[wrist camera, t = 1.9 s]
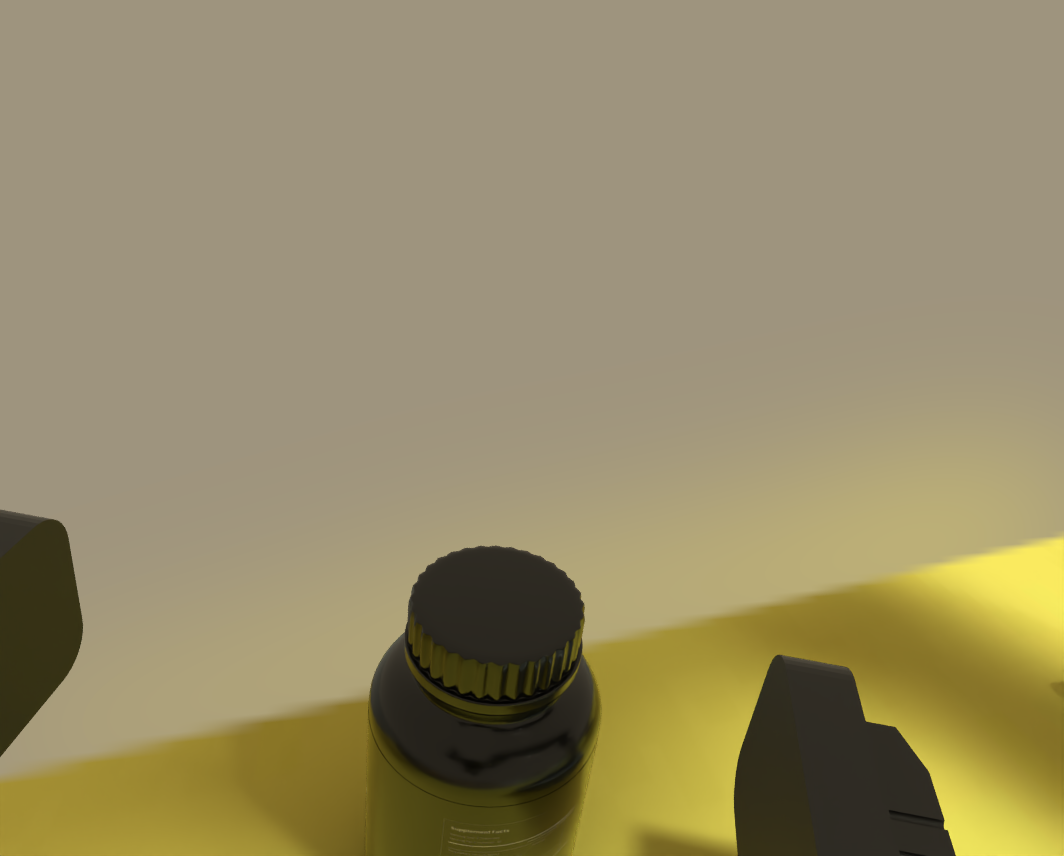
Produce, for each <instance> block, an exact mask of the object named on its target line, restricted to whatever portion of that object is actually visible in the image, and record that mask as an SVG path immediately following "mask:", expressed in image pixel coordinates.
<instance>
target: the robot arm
mask: <svg viewBox="0 0 1064 856" xmlns="http://www.w3.org/2000/svg"><path fill="white" fill-rule="evenodd" d="M82 633H83V623H82V615H81V609H80V603H79V597H78V591H77V586H76V580H75V574H74V568H73V563H72V556H71V551H70V544H69V539H68V535H67V531H66V529H65V527H64V526H63V525H62V523H60V522H59V521H57V520H54V519H48V518H43V517H37V516H32V515H26V514H20V513H16V512H10V511H5V510H0V757H1V755H2V754H3V753H4V752H5V751H6V749H7V748H8V747H9V746H10V744H11V743H12V742H13V741H14V739H15V738H16V737H17V736H18V735H19V733H20V732H21V731H22V730H23V729H24V727H25V726H26V725H27V724H28V723H29V721H30V720H31V719H32V718H33V716H34V715H35V714H36V713H37V712H38V710H39V709H40V708H41V706H42V705H43V704H44V703H45V702H46V701H47V699H48V698H49V697H50V696H51V694H52V693H53V692H54V691H55V690H56V688H57V687H58V686H59V685H60V684H61V682H62V681H63V680H64V678H65V677H66V676H67V674H68V673H69V671H70V670H71V668H72V666H73V664H74V662H75V659H76V657H77V655H78V652H79V648H80V644H81V640H82ZM734 814H735V826H736V839H737V851H738V856H956V855H955V852H954V849H953V845H952V842H951V839H950V836H949V833H948V830H944V817H943V814H942V811H941V808H940V805H939V802H938V799H937V796H936V792H935V789H934V786H933V783H932V780H931V777H930V774H929V771H928V770H927V769H926V767H925V766H924V765H923V763H922V762H921V761H920V759H919V758H918V757H917V755H916V754H915V753H914V751H913V750H912V749H911V747H910V746H909V745H908V743H907V742H906V741H905V739H904V738H903V737H902V735H901V734H900V733H899V731H898V730H897V729H896V727H892V726H886V725H881V724H876V723H870V722H866V721H865V717H864V714H863V710H862V706H861V702H860V698H859V694H858V690H857V687H856V683H855V679H854V676H853V674H852V672H851V671H850V670H849V668H847V667H843V666H837V665H832V664H826V663H821V662H815V661H810V660H805V659H799V658H794V657H788V656H783V655H777V656H775V657H774V659H773V660H772V662H771V664H770V667H769V669H768V672H767V675H766V678H765V681H764V684H763V687H762V689H761V692H760V695H759V698H758V701H757V704H756V707H755V710H754V713H753V716H752V718H751V721H750V724H749V727H748V730H747V733H746V736H745V739H744V742H743V745H742V748H741V751H740V755H739V759H738V764H737V770H736V777H735V788H734Z"/></svg>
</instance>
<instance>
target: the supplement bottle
mask: <svg viewBox="0 0 1064 856" xmlns="http://www.w3.org/2000/svg"><path fill="white" fill-rule="evenodd" d="M584 608H585V607H584V603H583V601H582V600H581V593H580V591H579V590H578V589H577V588H575V583H574V581H572V580H571V579H569V578H568V577H567V575H566V573H565V572H564V571H562V570H560V569H558V568H557V567H556V565H555V564H554V563H551V562H549V561H546V560H545V559H544V558H542V557H541V556H537V555H533V554H531V553H529V552H528V551H523V550H517V549H515V548H512V547H509V548H508V547H506V548H503V547H500V546H490V547H485V546H478V547H475V548H464V549H462V550H460V551H456V552H451V553H449V554H448V555H447V556H444V557H441V558H438V559H437V560H436V562H435V563H433V564H431V565H428V566H427V568H426V571H425V572H423V573H422V574H420V575H419V577H418V581H417V583H415V584H414V585H413V588H412V592H411V597H410V600H409V605H408V622H407V625H406V629H405V632H404V633H403V634H402V635H401V636H400V637H399V638H398V639H397V640H396V641H395V642H394V643H393V644H392V645H391V647H390V648H389V649H388V650H387V652H386V653H385V654H384V656H383V658H382V660H381V661H380V663H379V665H378V667H377V669H376V672H375V674H374V677H373V680H372V684H371V689H370V695H369V707H368V740H367V784H366V828H365V856H572V853H573V848H574V844H575V839H576V834H577V830H578V825H579V821H580V816H581V812H582V807H583V803H584V798H585V794H586V789H587V785H588V780H589V776H590V771H591V767H592V762H593V758H594V753H595V748H596V744H597V739H598V733H599V727H600V720H601V699H600V693H599V689H598V685H597V682H596V679H595V676H594V674H593V672H592V670H591V668H590V666H589V664H588V662H587V661H586V659H585V658H584V656H583V655H582V633H583V627H584V621H585V619H584Z"/></svg>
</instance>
